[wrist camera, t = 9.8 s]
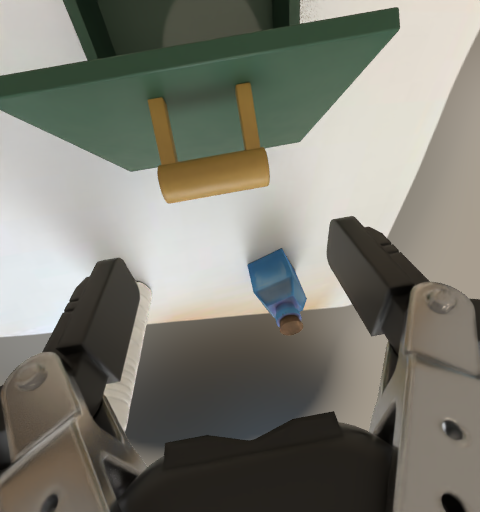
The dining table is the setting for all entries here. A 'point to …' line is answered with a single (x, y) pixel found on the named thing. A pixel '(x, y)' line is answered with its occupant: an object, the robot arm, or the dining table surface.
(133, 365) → the water bottle
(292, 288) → the perfume bottle
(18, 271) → the dining table surface
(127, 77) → the cover
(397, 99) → the dining table surface
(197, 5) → the green storage bin
